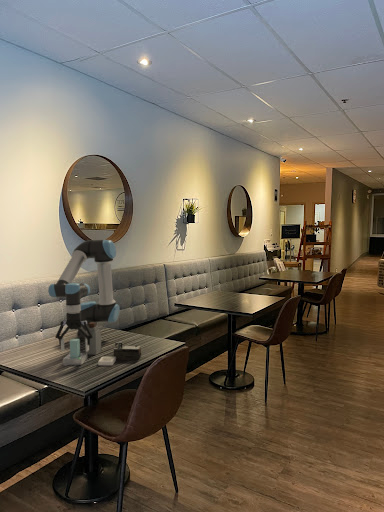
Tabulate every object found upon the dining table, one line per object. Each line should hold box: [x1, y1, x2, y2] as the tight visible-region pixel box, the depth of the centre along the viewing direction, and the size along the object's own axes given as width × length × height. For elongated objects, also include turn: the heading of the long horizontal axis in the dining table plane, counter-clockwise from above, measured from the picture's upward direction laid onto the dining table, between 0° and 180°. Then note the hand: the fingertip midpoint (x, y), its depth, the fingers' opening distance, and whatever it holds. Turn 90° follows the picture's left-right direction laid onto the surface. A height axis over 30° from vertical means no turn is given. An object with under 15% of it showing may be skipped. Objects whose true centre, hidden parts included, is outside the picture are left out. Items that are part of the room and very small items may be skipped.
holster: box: [97, 356, 117, 366], centre depth 213 cm, size 8×8×3 cm
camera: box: [112, 341, 142, 361], centre depth 220 cm, size 15×8×10 cm, turn 83°
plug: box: [69, 338, 81, 358], centre depth 216 cm, size 4×4×12 cm
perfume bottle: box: [84, 322, 102, 355], centre depth 230 cm, size 7×7×18 cm
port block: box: [62, 352, 88, 366], centre depth 216 cm, size 10×10×4 cm
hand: (75, 350), depth 216 cm, fingers open, 13 cm apart
